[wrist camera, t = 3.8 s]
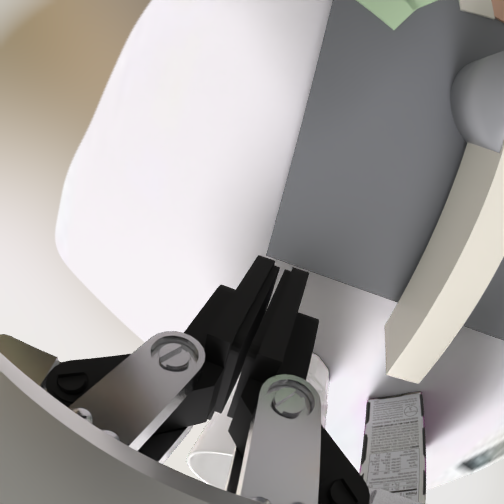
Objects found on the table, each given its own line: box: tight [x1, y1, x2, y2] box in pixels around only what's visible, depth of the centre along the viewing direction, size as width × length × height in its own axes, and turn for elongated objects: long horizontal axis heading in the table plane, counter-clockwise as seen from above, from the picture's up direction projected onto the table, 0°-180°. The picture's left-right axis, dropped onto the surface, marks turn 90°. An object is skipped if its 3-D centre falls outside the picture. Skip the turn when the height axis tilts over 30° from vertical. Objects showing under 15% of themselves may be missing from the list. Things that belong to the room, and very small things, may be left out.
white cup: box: [186, 353, 329, 490], centre depth 19 cm, size 8×8×10 cm
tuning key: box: [385, 51, 504, 384], centre depth 10 cm, size 22×5×4 cm, turn 168°
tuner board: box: [266, 0, 504, 340], centre depth 12 cm, size 20×18×1 cm
